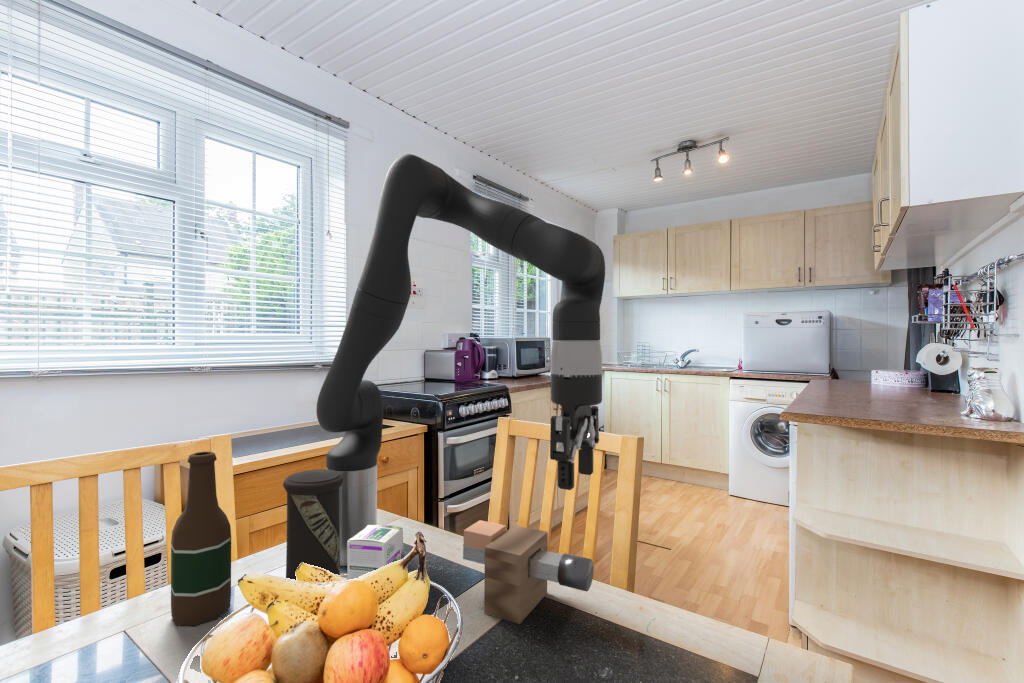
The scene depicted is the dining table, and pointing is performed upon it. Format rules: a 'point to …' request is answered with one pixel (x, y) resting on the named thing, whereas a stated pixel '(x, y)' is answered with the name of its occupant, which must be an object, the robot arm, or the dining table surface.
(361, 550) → the syrup box
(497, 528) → the block
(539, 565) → the shaft
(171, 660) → the dining table surface
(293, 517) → the container
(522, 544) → the bearing block
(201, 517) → the beer bottle
